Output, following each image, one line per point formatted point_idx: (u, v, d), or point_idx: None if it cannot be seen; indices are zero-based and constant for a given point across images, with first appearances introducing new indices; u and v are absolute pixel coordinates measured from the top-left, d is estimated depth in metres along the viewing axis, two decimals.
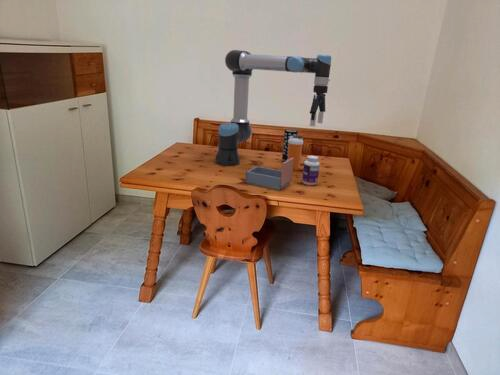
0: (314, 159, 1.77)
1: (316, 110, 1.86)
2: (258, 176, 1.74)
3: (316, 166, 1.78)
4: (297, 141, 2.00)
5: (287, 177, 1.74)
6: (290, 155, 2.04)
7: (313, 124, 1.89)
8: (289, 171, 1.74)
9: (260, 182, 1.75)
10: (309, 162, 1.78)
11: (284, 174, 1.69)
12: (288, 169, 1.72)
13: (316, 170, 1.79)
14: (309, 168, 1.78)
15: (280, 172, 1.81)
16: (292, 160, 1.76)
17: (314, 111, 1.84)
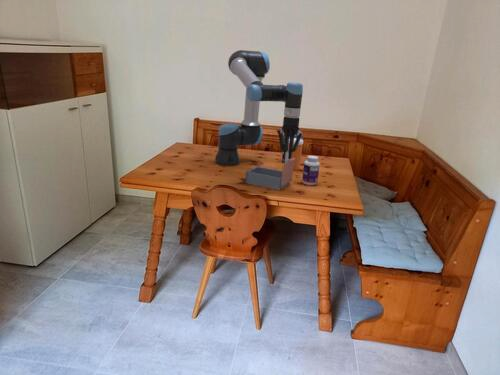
0: (314, 159, 1.77)
1: (285, 147, 1.69)
2: (258, 176, 1.74)
3: (316, 166, 1.78)
4: None
5: (287, 177, 1.74)
6: None
7: None
8: (289, 171, 1.74)
9: (260, 182, 1.75)
10: (309, 162, 1.78)
11: (285, 174, 1.69)
12: (288, 169, 1.72)
13: (316, 170, 1.79)
14: (309, 168, 1.78)
15: (280, 172, 1.81)
16: (293, 160, 1.75)
17: None
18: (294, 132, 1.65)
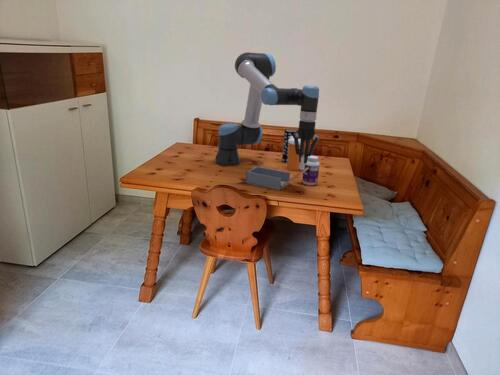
0: (314, 159, 1.77)
1: (300, 151, 1.66)
2: (258, 176, 1.74)
3: (316, 166, 1.78)
4: None
5: None
6: (290, 155, 2.04)
7: None
8: None
9: (260, 182, 1.75)
10: (309, 162, 1.78)
11: None
12: None
13: (316, 170, 1.79)
14: (309, 168, 1.78)
15: (280, 172, 1.81)
16: None
17: None
18: (310, 136, 1.62)
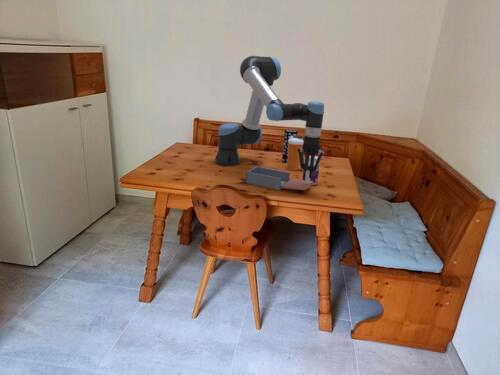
0: (314, 159, 1.77)
1: (305, 166, 1.67)
2: (258, 176, 1.74)
3: None
4: (297, 141, 2.00)
5: None
6: (290, 155, 2.04)
7: None
8: None
9: (260, 182, 1.75)
10: (309, 162, 1.78)
11: None
12: None
13: (316, 170, 1.79)
14: (309, 168, 1.78)
15: (280, 172, 1.81)
16: None
17: None
18: (315, 151, 1.63)
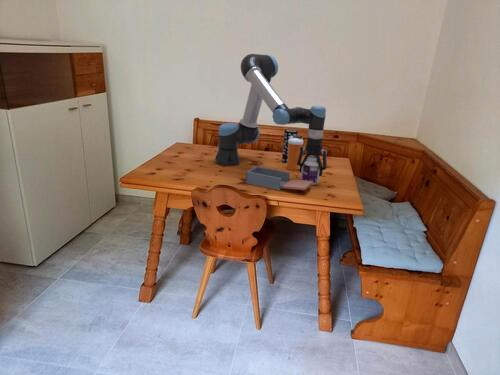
0: (314, 159, 1.77)
1: (302, 163, 1.82)
2: (258, 176, 1.74)
3: (316, 166, 1.78)
4: (297, 141, 2.00)
5: None
6: (290, 155, 2.04)
7: None
8: None
9: (260, 182, 1.75)
10: (309, 162, 1.78)
11: None
12: None
13: (316, 170, 1.79)
14: (309, 168, 1.78)
15: (280, 172, 1.81)
16: None
17: (297, 163, 1.83)
18: (318, 152, 1.76)
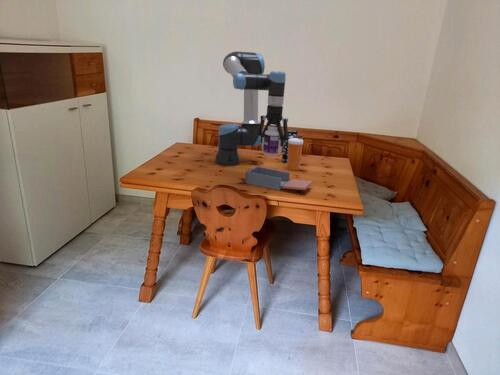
0: (274, 128, 1.68)
1: (263, 133, 1.73)
2: (258, 176, 1.74)
3: (277, 135, 1.69)
4: (297, 141, 2.00)
5: None
6: (290, 155, 2.04)
7: None
8: None
9: (260, 182, 1.75)
10: (269, 131, 1.69)
11: None
12: None
13: (277, 140, 1.70)
14: (269, 138, 1.69)
15: (280, 172, 1.81)
16: None
17: (257, 133, 1.74)
18: (279, 120, 1.67)
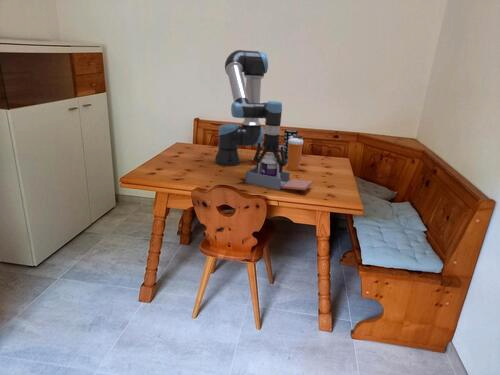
0: (271, 157, 1.73)
1: (259, 159, 1.77)
2: (258, 176, 1.74)
3: (273, 164, 1.73)
4: (297, 141, 2.00)
5: None
6: (290, 155, 2.04)
7: None
8: None
9: (260, 182, 1.75)
10: (266, 160, 1.74)
11: None
12: None
13: (274, 168, 1.74)
14: (266, 166, 1.73)
15: None
16: None
17: None
18: (276, 149, 1.72)
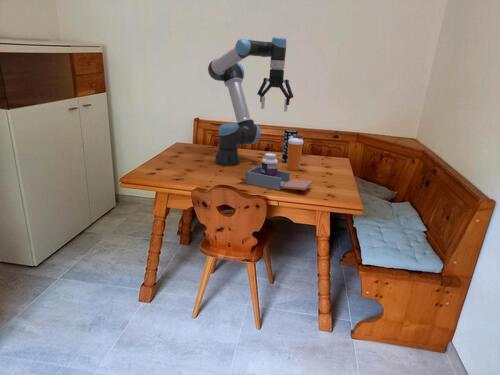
0: (271, 157, 1.73)
1: (263, 93, 1.90)
2: (258, 176, 1.74)
3: (273, 164, 1.73)
4: (297, 141, 2.00)
5: None
6: (290, 155, 2.04)
7: None
8: None
9: (260, 182, 1.75)
10: (266, 160, 1.74)
11: None
12: None
13: (274, 168, 1.74)
14: (266, 166, 1.73)
15: (280, 172, 1.81)
16: None
17: (257, 93, 1.91)
18: (281, 83, 1.84)
